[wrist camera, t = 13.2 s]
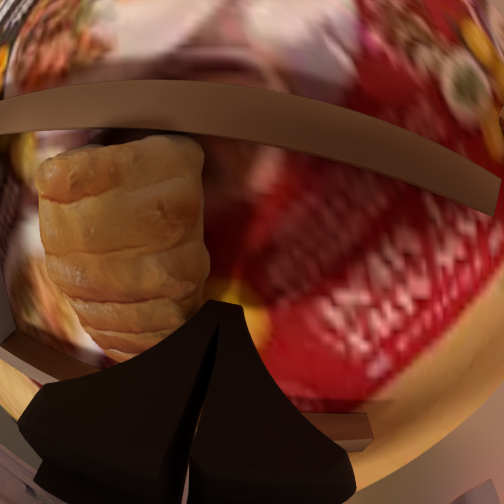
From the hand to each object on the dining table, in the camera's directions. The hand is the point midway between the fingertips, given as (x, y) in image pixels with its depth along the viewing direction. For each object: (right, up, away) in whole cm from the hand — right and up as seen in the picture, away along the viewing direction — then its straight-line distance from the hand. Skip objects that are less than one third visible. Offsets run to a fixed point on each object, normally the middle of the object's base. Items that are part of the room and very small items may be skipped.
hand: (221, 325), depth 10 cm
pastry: (-3, +3, +1) cm, 5 cm away
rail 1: (-3, +8, -1) cm, 8 cm away
